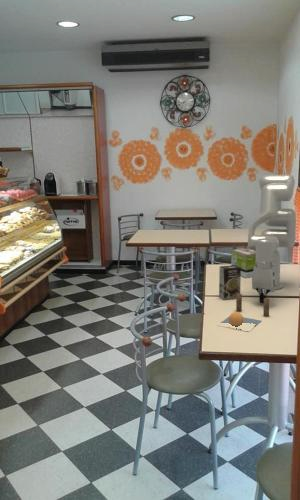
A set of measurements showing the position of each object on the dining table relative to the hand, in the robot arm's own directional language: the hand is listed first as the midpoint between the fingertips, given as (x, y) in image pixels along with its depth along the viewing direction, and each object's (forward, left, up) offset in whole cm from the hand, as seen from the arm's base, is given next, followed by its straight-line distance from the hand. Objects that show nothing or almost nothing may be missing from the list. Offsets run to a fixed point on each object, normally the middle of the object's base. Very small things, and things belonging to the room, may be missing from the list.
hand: (262, 302), depth 201 cm
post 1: (+13, -6, -2) cm, 15 cm away
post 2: (+13, +6, -2) cm, 15 cm away
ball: (+31, 0, +2) cm, 31 cm away
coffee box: (-3, -18, -2) cm, 19 cm away
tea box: (-48, -29, -2) cm, 56 cm away
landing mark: (+27, 0, -2) cm, 27 cm away
